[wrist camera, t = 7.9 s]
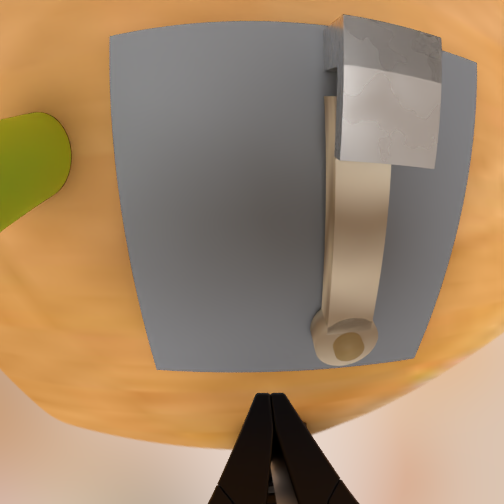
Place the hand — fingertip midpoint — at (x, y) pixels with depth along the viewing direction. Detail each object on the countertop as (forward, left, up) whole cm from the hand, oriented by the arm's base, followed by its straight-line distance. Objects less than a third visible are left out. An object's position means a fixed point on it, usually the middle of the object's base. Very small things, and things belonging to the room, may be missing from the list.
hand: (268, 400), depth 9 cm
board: (+1, -3, -12) cm, 12 cm away
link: (0, -6, -11) cm, 13 cm away
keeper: (+9, -6, -12) cm, 16 cm away
